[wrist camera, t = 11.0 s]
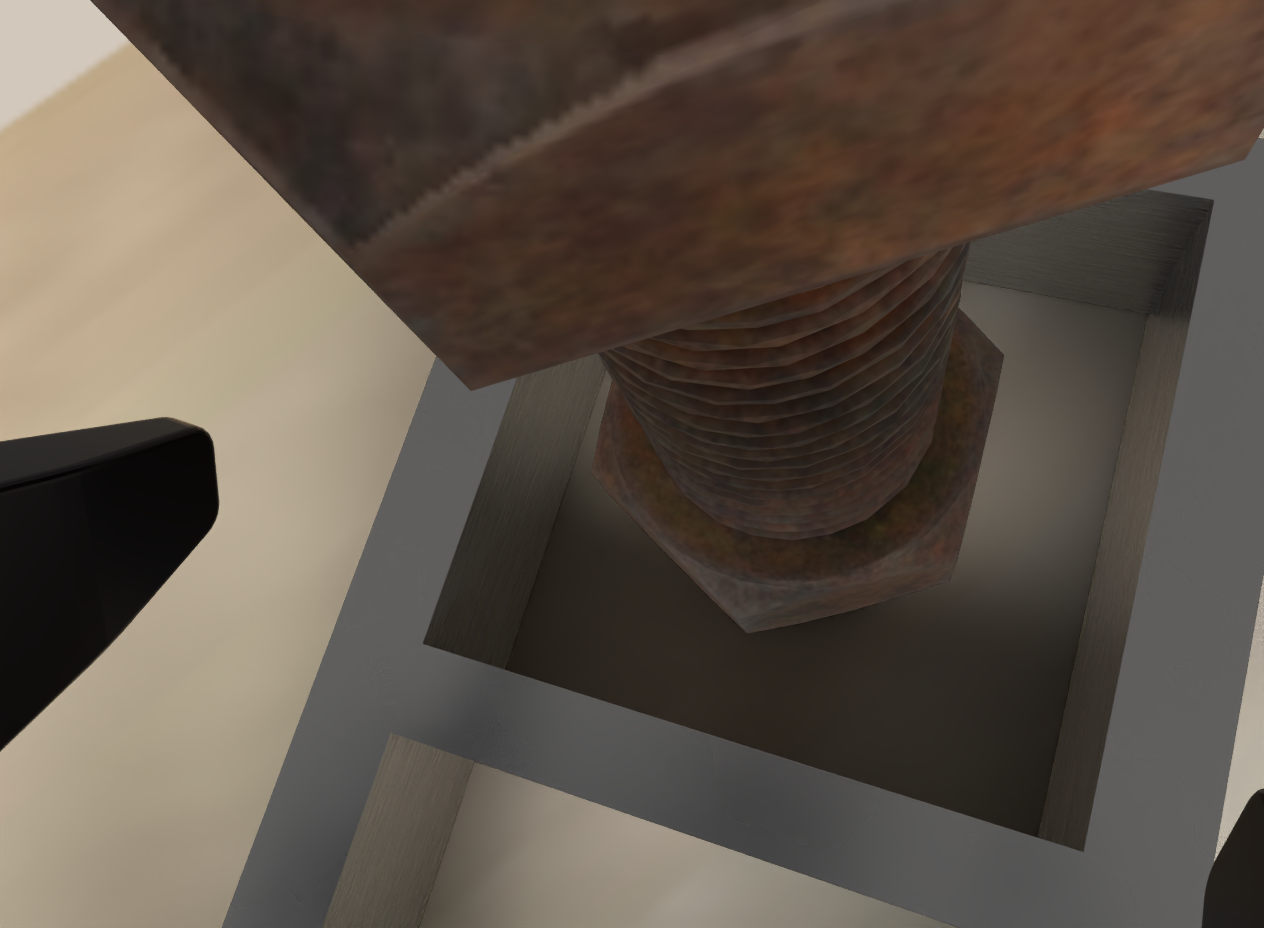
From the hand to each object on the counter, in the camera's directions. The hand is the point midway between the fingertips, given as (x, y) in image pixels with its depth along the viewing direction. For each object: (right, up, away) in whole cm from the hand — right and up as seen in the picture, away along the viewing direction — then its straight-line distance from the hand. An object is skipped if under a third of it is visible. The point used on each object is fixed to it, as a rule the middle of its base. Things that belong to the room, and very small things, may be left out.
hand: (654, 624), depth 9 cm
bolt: (+3, 0, +9) cm, 9 cm away
